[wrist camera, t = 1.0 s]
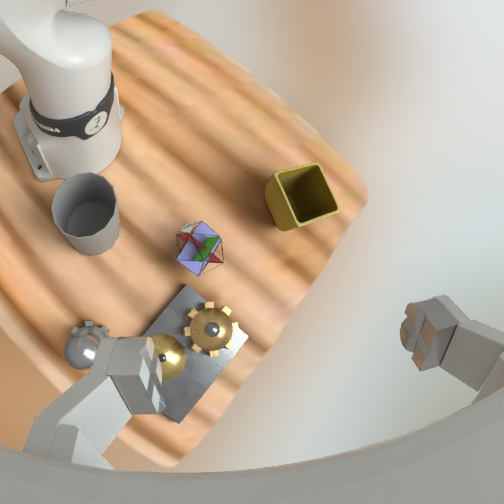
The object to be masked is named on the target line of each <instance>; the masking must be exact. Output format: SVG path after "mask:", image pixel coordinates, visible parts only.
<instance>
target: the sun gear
mask: <svg viewBox="0 0 504 504" xmlns="http://www.w3.org/2000/svg"><path fill="white" fill-rule="evenodd" d="M231 312H232V311H231V310H230V309H229V308H227V307H226V306H221V308H220V309H217V308H214V302H204V303H202V309H201V310H199V311H196V310H195V309H194V308H192V309H190V310H189V312H188V313H187V314H186V316H187V317H189V318H190V320H189V323H188V327H182V332H183V336H189V337H190V339H191V341H192V343H191V345H190V346H189V347H190V348H191V349H192V350H194V351H195V352H196V353H199V352H200V350H201V349H204V350H207V355H208V356H210V357H214V356H219V353H218V350H220V349H222V348H223V347H225V348H226V349H229V350H230V349H231V348H232V346H233V345H234V344H235V343H234V342H233V341H232V340H231V337H232V334H233V332H234V331H238V323H232V322H231V319H230V318H229V316H228V315H229V314H230V313H231Z"/></svg>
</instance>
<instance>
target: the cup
mask: <svg viewBox="0 0 504 504" xmlns="http://www.w3.org/2000/svg"><path fill="white" fill-rule="evenodd" d="M51 209H52V214H53V218H54V222H55V224H56V225H57V226H58V228H59V229H60V230H61V232H62V233H63V234H64V235H65V237H66V238H67V239H68V241H69V242H70V243H71V244H72V245H73V246H74V248H75V249H76V250H77V251H78V252H81V253H83V254H86V255H89V256H91V255H99V254H102V253H104V252H106V251H107V250H109V249H110V248H112V246H113V245H114V243H115V242H116V240H117V238H118V237H119V230H120V219H119V211H118V202H117V198H116V194H115V191H114V187H113V186H112V184H111V183H110V182H109V181H108V180H107V179H106V178H105V177H104V176H101V175H98V174H95V173H92V172H86V173H77V174H75V175H73V176H72V177H70V178H68V179H67V180H65V181H63V183H62V184H61V186H60V187H59V188H58V190H57V191H56V192H55V194H54V199H53V203H52V207H51Z"/></svg>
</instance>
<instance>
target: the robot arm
mask: <svg viewBox="0 0 504 504" xmlns="http://www.w3.org/2000/svg"><path fill="white" fill-rule="evenodd" d="M86 1H90V0H0V54H1V55H3V56H5V57H7V58H8V59H9V60H10V61H11V62H12V63H14V64H15V66H16V67H17V68H18V69H19V71H20V73H21V75H22V77H23V80H24V82H25V85H26V87H27V90H28V93H27V94H26V95H25V96H24V97H23V99H22V100H21V102H20V105H19V108H20V110H19V112H18V113H17V115H16V116H15V118H14V120H13V124H14V128H15V130H16V133H17V135H18V138H19V140H20V142H21V145H22V147H23V149H24V152H25V154H26V156H27V158H28V160H29V163H30V165H31V167H32V169H33V171H34V173H35V175H36V177H37V179H38V180H39V181H48V180H52V179H55V178H59V179H66V180H67V179H68V178H70V177H72V176H73V175H75V174H77V173H86V172H92V173H95V174H97V173H99V172H100V171H102V170H103V169H104V168H106V167H107V166H108V165H109V164H110V163H111V162H112V161H113V159H114V158H115V156H116V155H117V153H118V151H119V148H120V145H121V140H122V133H121V122H122V119H123V117H124V108H123V107H122V106H121V105H119V100H118V92H117V88H116V87H115V83H114V77H113V73H112V71H111V60H112V38H111V34H110V32H109V30H108V29H107V27H106V26H105V25H104V24H103V23H102V22H100V21H98V20H97V19H95V18H93V17H91V16H89V15H86V14H80V13H74V12H68V11H64V10H62V9H64V8H65V7H67V6H71V5H75V4H79V3H82V2H86ZM39 167H42V168H41V169H39ZM405 314H406V316H407V318H406V319H405V320H404V321H403V322H402V324H401V329H400V338H401V341H402V344H403V346H404V347H405V349H406V350H408V351H410V352H412V359H413V361H414V363H415V364H416V366H417V367H418V369H419V371H424V370H427V369H430V368H433V367H437V366H440V367H441V368H442V369H444V370H445V371H447V372H449V373H450V374H451V375H453V376H454V377H456V378H458V379H459V380H461V381H462V382H463V383H465V384H466V385H468V386H470V387H471V388H473V389H474V390H475V391H477V392H478V393H477V394H476V396H475V397H474V399H473V400H472V403H471V405H469V406H467V407H465V408H463V409H461V410H459V411H457V412H455V413H453V414H451V415H449V416H446V417H444V418H442V419H440V420H437V421H435V422H433V423H430V424H428V425H425V426H423V427H420V428H418V429H415V430H413V431H410V432H407V433H405V434H402V435H399V436H396V437H393V438H390V439H387V440H384V441H382V442H378V443H375V444H372V445H368V446H365V447H361V448H358V449H354V450H351V451H347V452H343V453H339V454H335V455H331V456H326V457H323V458H318V459H313V460H308V461H302V462H297V463H291V464H285V465H279V466H272V467H265V468H257V469H248V470H237V471H224V472H204V473H160V472H140V471H126V470H117V469H114V468H113V467H112V465H111V464H110V463H109V462H108V461H107V460H106V459H105V458H104V457H103V456H102V455H101V454H102V453H103V452H104V451H105V450H106V448H107V447H108V446H109V444H110V443H111V442H112V441H113V439H114V438H115V437H116V436H117V434H118V433H119V432H120V430H121V429H122V428H123V427H124V425H125V424H126V423H127V421H128V420H129V419H130V418H131V416H132V415H131V414H158V409H159V401H160V396H159V393H158V391H157V389H158V388H159V387H160V386H161V383H162V369H161V364H160V360H159V357H158V356H157V355H155V354H154V353H153V352H154V343H153V341H152V338H151V337H149V336H147V337H105V338H103V339H102V340H101V343H100V345H99V348H98V351H97V354H96V356H95V359H94V362H93V365H92V368H91V371H90V373H89V375H84V376H83V377H82V378H81V379H80V380H78V381H77V382H76V383H75V384H74V385H73V386H71V387H70V388H69V389H68V390H67V391H65V392H64V393H63V394H62V395H61V396H60V397H58V398H57V399H56V400H55V401H54V402H53V403H51V404H50V405H49V406H48V407H47V408H45V409H44V410H43V411H42V412H41V413H40V414H38V415H37V416H36V417H35V418H34V421H33V424H32V426H31V429H30V432H29V435H28V438H27V441H26V444H25V447H24V450H23V451H19V450H16V449H13V448H9V447H6V446H3V445H0V504H504V332H502V331H499V330H497V329H495V328H492V327H490V326H488V325H485V324H483V323H481V322H478V321H476V320H470V319H469V318H468V317H467V316H466V315H465V314H464V313H463V312H462V310H461V309H460V308H459V307H458V306H457V305H456V304H455V303H454V302H453V301H452V300H451V299H450V298H449V297H448V296H446V295H444V294H443V295H439V296H435V297H432V298H428V299H425V300H420V301H415V302H410V303H409V304H408V305H407V307H406V310H405Z"/></svg>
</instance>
